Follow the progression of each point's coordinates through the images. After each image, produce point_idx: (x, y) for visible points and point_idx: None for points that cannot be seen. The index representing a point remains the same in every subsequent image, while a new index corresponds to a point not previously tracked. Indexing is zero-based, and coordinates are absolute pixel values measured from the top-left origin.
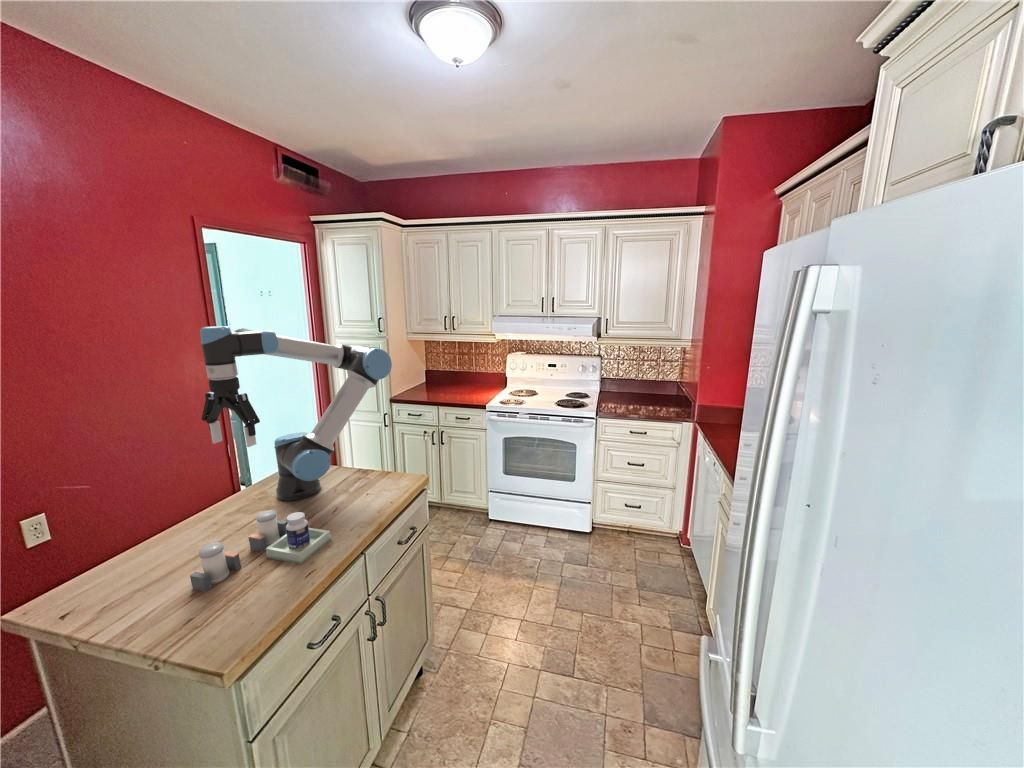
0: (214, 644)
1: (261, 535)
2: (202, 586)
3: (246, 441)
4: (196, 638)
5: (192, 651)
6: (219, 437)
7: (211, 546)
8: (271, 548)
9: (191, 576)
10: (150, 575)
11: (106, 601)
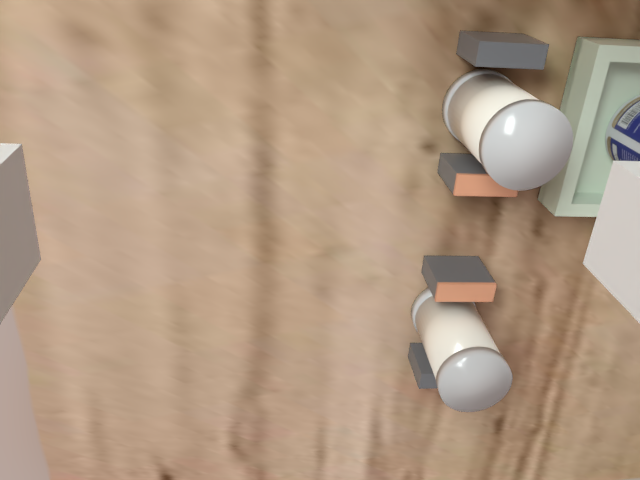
0: (609, 449)
1: None
2: None
3: (627, 303)
4: (557, 449)
5: (574, 468)
6: (7, 212)
7: (469, 378)
8: (577, 210)
9: (424, 387)
10: (210, 347)
11: (212, 435)
